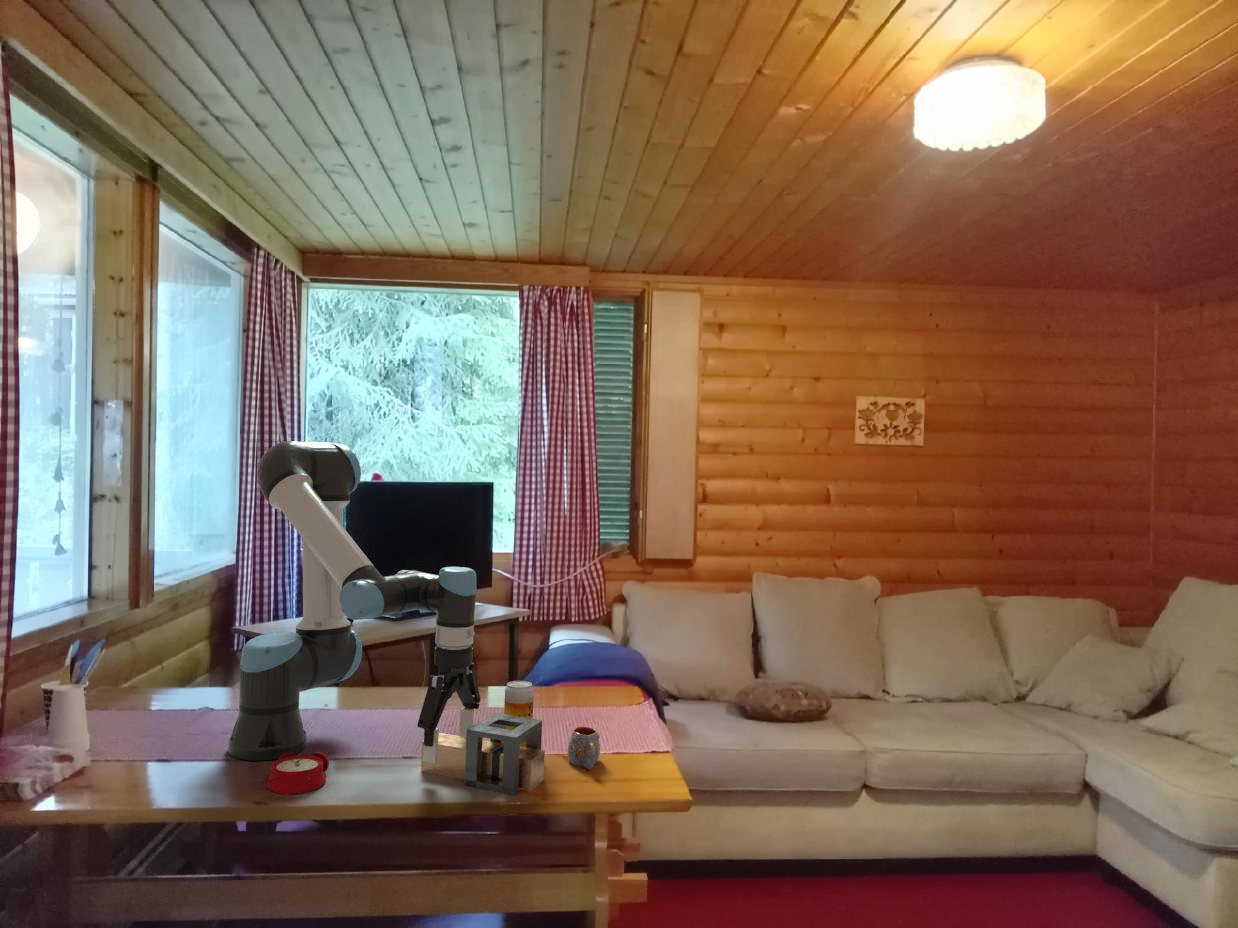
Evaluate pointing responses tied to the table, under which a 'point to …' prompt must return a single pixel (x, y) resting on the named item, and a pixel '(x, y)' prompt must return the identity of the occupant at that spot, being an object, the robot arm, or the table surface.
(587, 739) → the mug
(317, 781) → the alarm clock
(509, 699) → the yellow can
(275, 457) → the robot arm
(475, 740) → the collar block
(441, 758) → the banded wooden beam
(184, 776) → the table surface
